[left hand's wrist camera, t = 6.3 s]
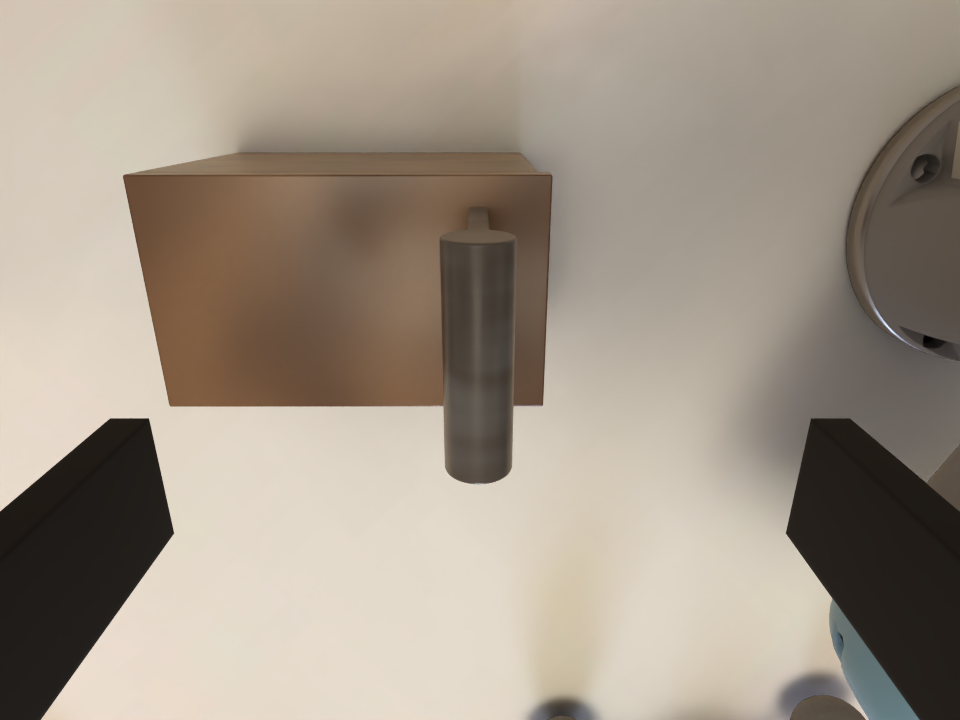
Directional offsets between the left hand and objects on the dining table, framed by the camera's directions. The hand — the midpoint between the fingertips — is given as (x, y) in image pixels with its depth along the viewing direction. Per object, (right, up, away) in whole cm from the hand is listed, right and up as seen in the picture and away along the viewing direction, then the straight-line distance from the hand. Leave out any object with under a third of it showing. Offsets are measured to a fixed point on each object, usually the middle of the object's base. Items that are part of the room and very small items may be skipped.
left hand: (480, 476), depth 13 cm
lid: (-5, +5, +13) cm, 15 cm away
